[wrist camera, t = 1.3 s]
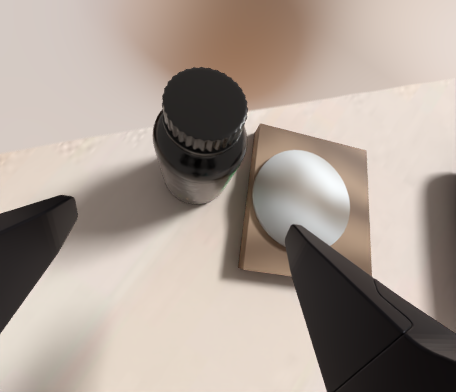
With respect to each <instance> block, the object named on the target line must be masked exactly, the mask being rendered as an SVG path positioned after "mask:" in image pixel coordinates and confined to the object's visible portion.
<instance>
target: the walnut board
mask: <svg viewBox="0 0 456 392" xmlns="http://www.w3.org/2000/svg"><path fill="white" fill-rule="evenodd" d="M292 224H297V225H302V226H303V227H304V228H306V229H307V230H309V231H310V232H311V233H313V234H314V235H315V236H317V237H318V238H320V239H321V240H322V241H324V242H325V243H326V244H328V245H329V246H331V247H332V248H333V249H335V250H336V251H337V252H339V253H340V254H342V255H343V256H344V257H346V258H347V259H348V260H350V261H351V262H353V263H354V264H355V265H357V266H358V267H359V268H361V269H362V270H364V271H365V272H366V273H368V274H369V275H370V276H372V269H371V246H370V223H369V199H368V176H367V153H366V150H362V149H358V148H354V147H350V146H346V145H343V144H339V143H335V142H331V141H327V140H323V139H319V138H315V137H311V136H307V135H303V134H299V133H296V132H292V131H288V130H284V129H280V128H276V127H272V126H268V125H264V124H260V125H259V127H258V128H257V130H256V132H255V136H254V144H253V152H252V160H251V168H250V176H249V184H248V192H247V200H246V208H245V216H244V224H243V232H242V241H241V249H240V257H239V265H238V268H240V269H243V270H249V271H256V272H263V273H270V274H278V275H285V276H291V272H290V267H289V262H288V257H287V252H286V246H285V237H286V235H287V232H288V230H289V228H290V226H291V225H292Z"/></svg>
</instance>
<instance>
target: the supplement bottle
mask: <svg viewBox="0 0 456 392" xmlns="http://www.w3.org/2000/svg"><path fill="white" fill-rule="evenodd" d="M162 97H163V98H162V99H163V103H162V107H163V109H162V111H161V112H160V113H159V115H158V116H157V119H156V121H155V124H154V128H153V144H154V148H155V152H156V155H157V158H158V162H159V165H160V168H161V171H162V174H163V177H164V180H165V183H166V185H167V187H168V189H169V190H170V192H171V193H172V194H173V195H174V196H175V197H176V198H178V199H179V200H181V201H183V202H186V203H190V204H204V203H207V202H210V201H212V200H214V199H215V198H216V197H218V196H219V195H220V194H221V193H222V191H223V190H224V189H225V187H226V186H227V184H228V182H229V181H230V179H231V178H232V176H233V175H234V173H235V172H236V170H237V169H238V167H239V166H240V164H241V162H242V160H243V158H244V156H245V153H246V148H247V134H246V130H245V127H244V124H245V121H246V119H247V112H248V108H247V101H246V99H245V95H244V93H243V92H242V89H241V88H240V87H239V86H238V84H237V83H236V82H234V81H233V80H232V78H230V77H228V76H227V75H225V74H224V73H221V72H219V71H218V70H212V69H211V68H203V67H200V68H192V69H186V70H184V71H182V72H179V73H178V74H177V75H175V76H173V77H172V80H170V81H169V82H168V85H167V86H166V87H165V88H164V94H163V96H162Z"/></svg>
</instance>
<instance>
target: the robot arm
mask: <svg viewBox="0 0 456 392" xmlns="http://www.w3.org/2000/svg"><path fill="white" fill-rule="evenodd" d="M77 217H78V213H77V207H76V202H75V199H74V197H72V196H66V195H59V196H56V197H52V198H49V199H46V200H43V201H40V202H36V203H33V204H30V205H27V206H24V207H20V208H17V209H14V210H11V211H7V212H4V213H1V214H0V333H1V332H2V331H3V329H4V328H5V326H6V325H7V324H8V322H9V321H10V320H11V318H12V317H13V315H14V314H15V313H16V311H17V310H18V308H19V307H20V306H21V304H22V303H23V301H24V300H25V299H26V297H27V296H28V294H29V293H30V292H31V290H32V289H33V287H34V286H35V285H36V283H37V282H38V280H39V279H40V278H41V276H42V275H43V273H44V272H45V271H46V269H47V268H48V266H49V265H50V264H51V262H52V261H53V259H54V258H55V257H56V255H57V254H58V252H59V250H60V249H61V247H62V245H63V243H64V242H65V240H66V238H67V236H68V234H69V233H70V231H71V229H72V227H73V225H74V224H75V222H76V220H77ZM285 246H286V252H287V257H288V262H289V267H290V272H291V276H292V279H293V282H294V286H295V289H296V292H297V295H298V299H299V302H300V305H301V308H302V312H303V315H304V318H305V321H306V325H307V328H308V331H309V335H310V338H311V341H312V344H313V348H314V351H315V354H316V357H317V361H318V364H319V367H320V370H321V374H322V377H323V380H324V383H325V387H326V390H327V392H456V333H454V332H453V331H451V330H449V329H448V328H446V327H445V326H443V325H442V324H440V323H439V322H437V321H436V320H434V319H433V318H431V317H430V316H428V315H427V314H425V313H424V312H422V311H421V310H419V309H418V308H416V307H415V306H413V305H412V304H410V303H409V302H407V301H406V300H404V299H403V298H401V297H400V296H398V295H397V294H396V293H394V292H393V291H391V290H390V289H389V288H387V287H386V286H384V285H383V284H382V283H380V282H379V281H377V280H376V279H375V278H373V277H372V276H370V275H369V274H368V273H366V272H365V271H364V270H362V269H361V268H359V267H358V266H357V265H355V264H354V263H353V262H351V261H350V260H348V259H347V258H346V257H344V256H343V255H342V254H340V253H339V252H337V251H336V250H335V249H333V248H332V247H331V246H329V245H328V244H326V243H325V242H324V241H322V240H321V239H320V238H318V237H317V236H315V235H314V234H313V233H311V232H310V231H309V230H307V229H306V228H304V227H303V226H302V225H297V224H292V225H291V226H290V228H289V230H288V232H287V235H286V237H285Z"/></svg>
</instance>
